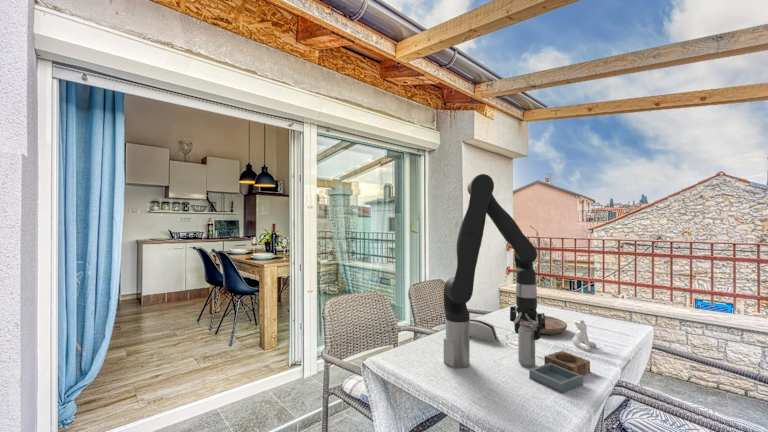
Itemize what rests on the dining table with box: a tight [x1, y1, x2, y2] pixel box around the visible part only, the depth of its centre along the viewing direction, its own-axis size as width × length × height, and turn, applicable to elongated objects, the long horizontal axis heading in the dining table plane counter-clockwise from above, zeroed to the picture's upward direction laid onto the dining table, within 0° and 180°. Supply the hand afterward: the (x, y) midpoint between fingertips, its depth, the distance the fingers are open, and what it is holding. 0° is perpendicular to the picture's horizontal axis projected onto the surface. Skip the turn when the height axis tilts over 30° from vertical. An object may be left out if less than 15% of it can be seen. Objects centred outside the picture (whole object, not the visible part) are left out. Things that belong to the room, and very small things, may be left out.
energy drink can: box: [517, 324, 536, 368], centre depth 130 cm, size 6×6×15 cm
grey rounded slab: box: [470, 318, 500, 343], centre depth 160 cm, size 17×5×10 cm, turn 47°
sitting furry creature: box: [571, 319, 597, 353], centre depth 149 cm, size 10×9×12 cm
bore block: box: [544, 350, 591, 376], centre depth 126 cm, size 12×12×4 cm
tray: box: [528, 363, 584, 394], centre depth 116 cm, size 12×12×3 cm
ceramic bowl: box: [519, 315, 568, 335], centre depth 172 cm, size 23×24×5 cm
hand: (527, 336), depth 130 cm, fingers open, 8 cm apart
